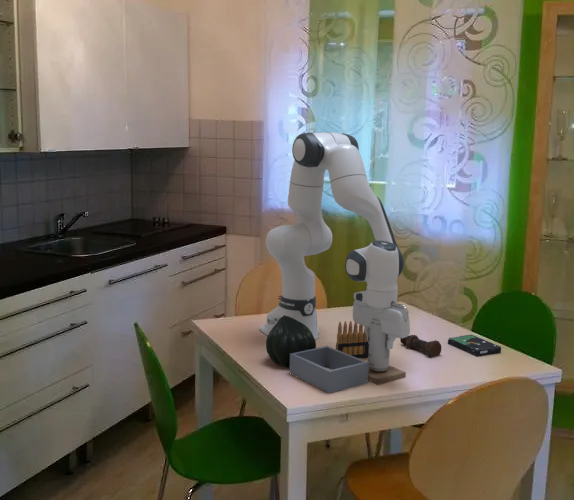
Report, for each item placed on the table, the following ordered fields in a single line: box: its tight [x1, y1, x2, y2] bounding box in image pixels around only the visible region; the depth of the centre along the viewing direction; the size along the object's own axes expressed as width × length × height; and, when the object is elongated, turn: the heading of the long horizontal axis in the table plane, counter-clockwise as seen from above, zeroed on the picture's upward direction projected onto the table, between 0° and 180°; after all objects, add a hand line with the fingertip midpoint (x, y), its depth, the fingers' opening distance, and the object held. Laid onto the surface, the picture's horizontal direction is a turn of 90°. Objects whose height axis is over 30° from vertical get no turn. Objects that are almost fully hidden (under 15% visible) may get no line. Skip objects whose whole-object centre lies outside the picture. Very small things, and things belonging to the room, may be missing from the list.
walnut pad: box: [368, 365, 407, 386], centre depth 197 cm, size 11×11×2 cm
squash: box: [265, 315, 317, 367], centre depth 206 cm, size 14×15×15 cm
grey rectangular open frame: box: [289, 345, 369, 394], centre depth 193 cm, size 18×14×6 cm
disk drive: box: [447, 334, 502, 357], centre depth 224 cm, size 10×3×15 cm
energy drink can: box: [367, 318, 391, 371], centre depth 195 cm, size 6×6×15 cm
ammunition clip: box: [335, 320, 369, 359], centre depth 211 cm, size 11×2×12 cm, turn 107°
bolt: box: [399, 334, 442, 358], centre depth 220 cm, size 6×5×15 cm
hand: (379, 345), depth 195 cm, fingers closed on energy drink can, 6 cm apart
